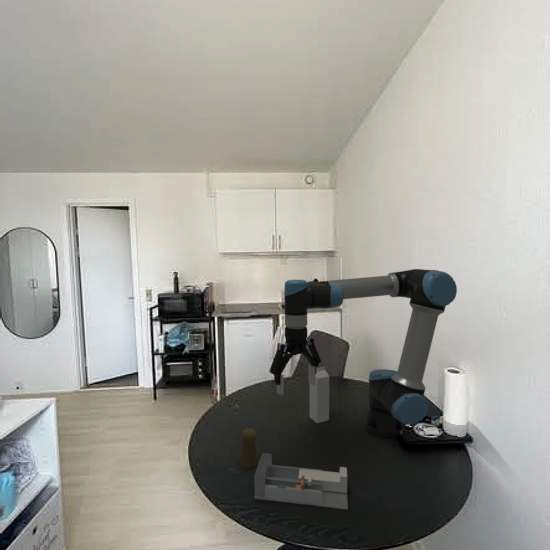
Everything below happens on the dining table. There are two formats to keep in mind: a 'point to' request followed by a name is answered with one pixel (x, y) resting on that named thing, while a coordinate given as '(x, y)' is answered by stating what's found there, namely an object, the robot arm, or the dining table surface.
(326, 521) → the dining table surface
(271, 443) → the dining table surface
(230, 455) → the dining table surface
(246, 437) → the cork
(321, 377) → the milk
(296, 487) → the brown l-shaped block
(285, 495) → the gauge housing
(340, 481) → the plunger
